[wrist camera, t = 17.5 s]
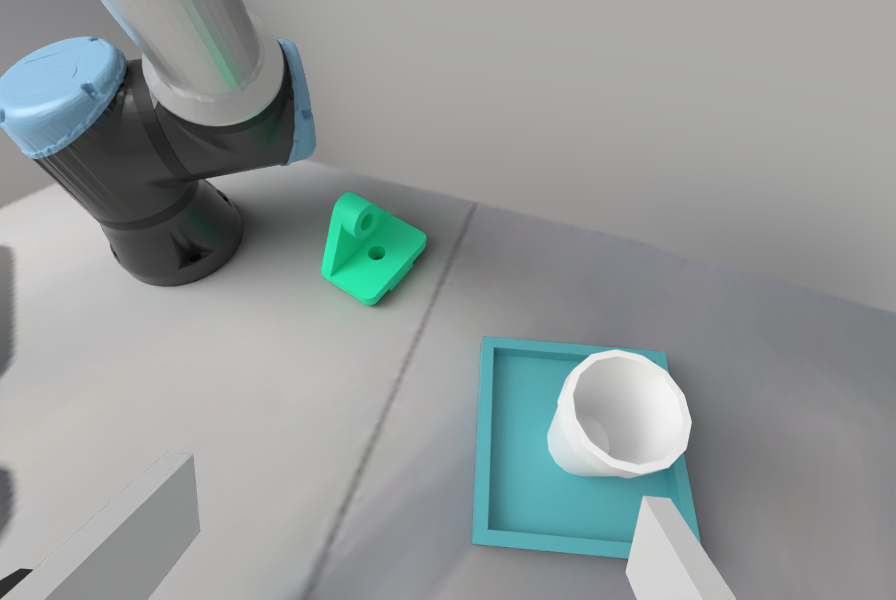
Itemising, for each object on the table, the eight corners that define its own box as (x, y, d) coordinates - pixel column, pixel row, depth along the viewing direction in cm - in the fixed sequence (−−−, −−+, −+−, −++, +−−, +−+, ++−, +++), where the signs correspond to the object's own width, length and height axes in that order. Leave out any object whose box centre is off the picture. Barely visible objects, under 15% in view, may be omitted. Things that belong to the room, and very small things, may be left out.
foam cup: (525, 478, 42) (558, 453, 30) (537, 389, 46) (570, 339, 35) (623, 503, 41) (695, 487, 30) (626, 410, 45) (689, 365, 34)
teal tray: (471, 543, 40) (473, 543, 37) (480, 347, 50) (483, 336, 47) (687, 564, 39) (705, 566, 37) (652, 362, 49) (664, 351, 47)
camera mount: (372, 312, 52) (359, 264, 43) (325, 282, 54) (303, 230, 45) (429, 248, 57) (428, 192, 48) (384, 222, 59) (375, 165, 50)
